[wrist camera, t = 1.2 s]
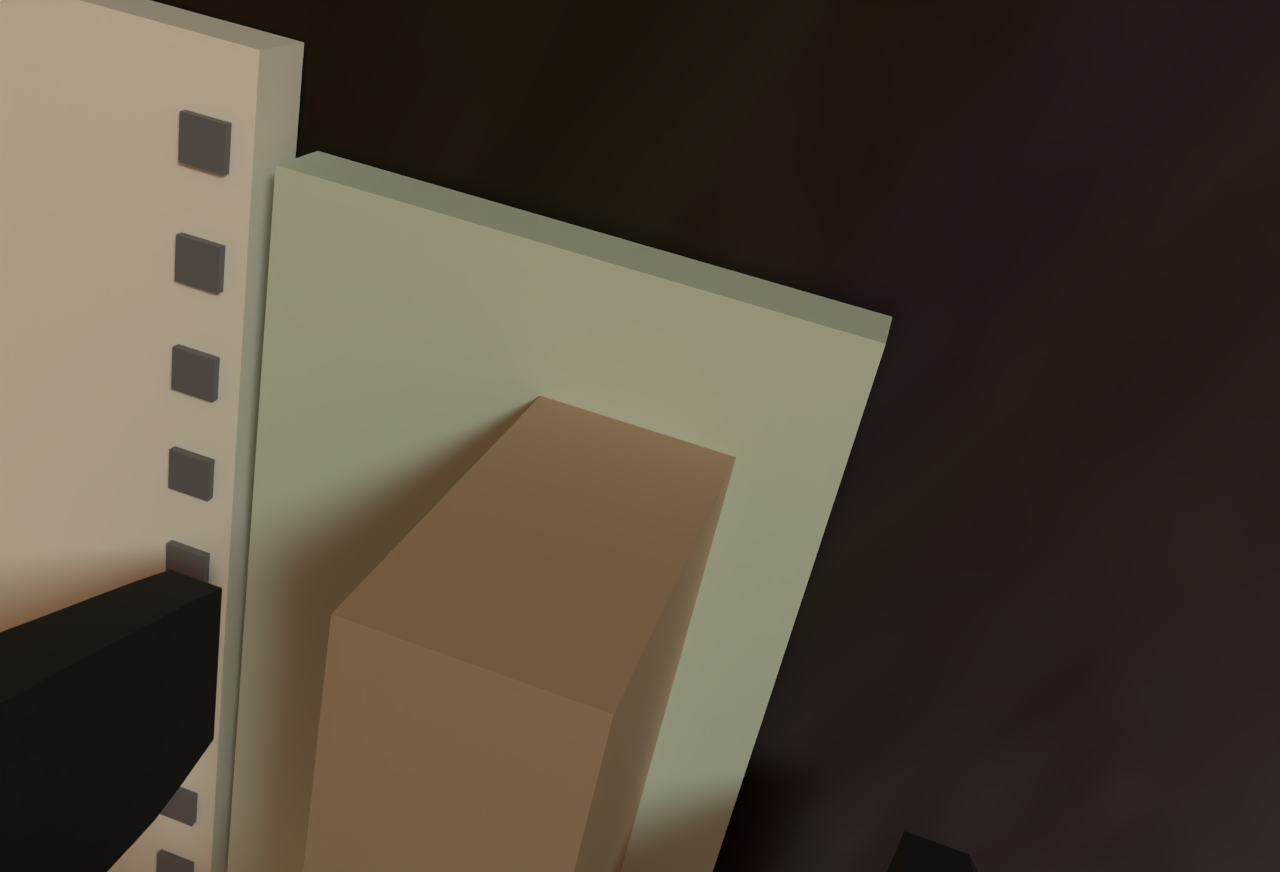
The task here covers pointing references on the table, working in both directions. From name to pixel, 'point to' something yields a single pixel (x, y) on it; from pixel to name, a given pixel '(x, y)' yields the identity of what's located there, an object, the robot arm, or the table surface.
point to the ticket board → (137, 327)
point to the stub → (519, 533)
